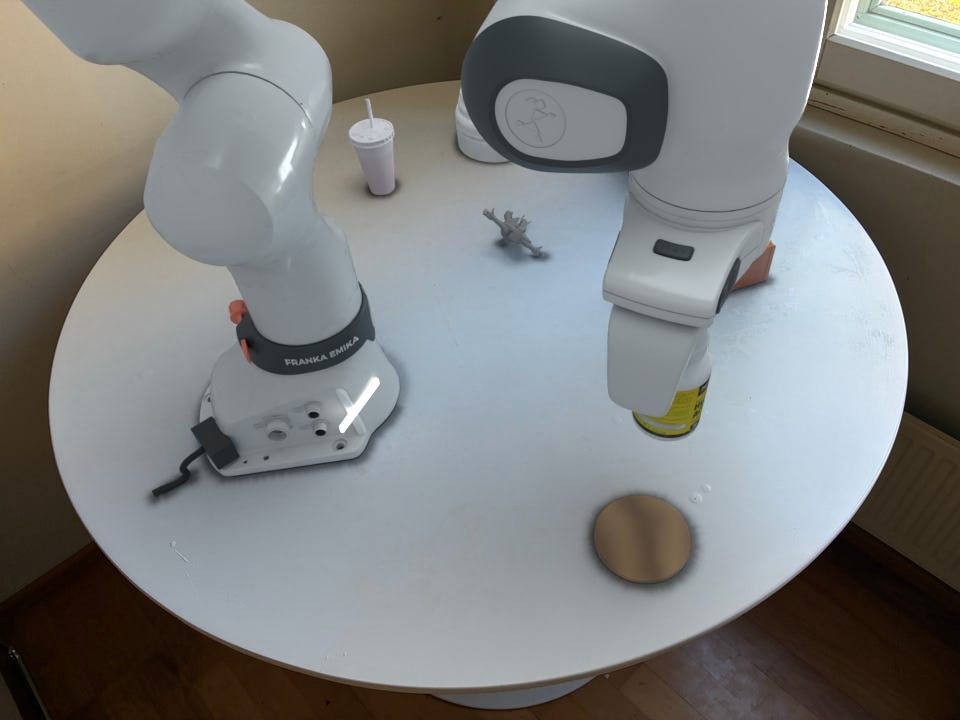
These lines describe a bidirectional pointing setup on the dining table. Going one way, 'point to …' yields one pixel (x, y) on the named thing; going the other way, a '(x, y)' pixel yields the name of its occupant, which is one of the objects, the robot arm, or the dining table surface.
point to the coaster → (642, 539)
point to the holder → (757, 269)
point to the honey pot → (473, 137)
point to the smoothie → (375, 151)
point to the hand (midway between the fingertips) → (674, 357)
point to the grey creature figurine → (514, 230)
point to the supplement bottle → (683, 399)
